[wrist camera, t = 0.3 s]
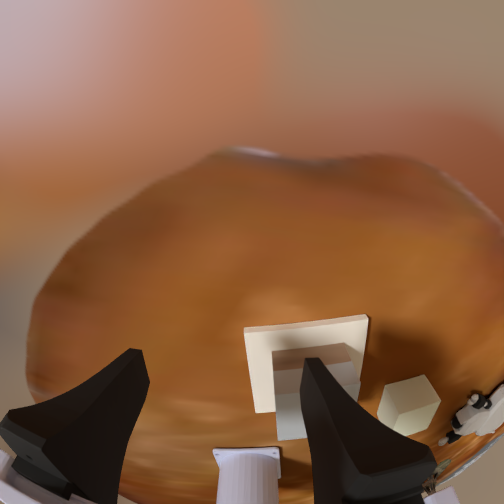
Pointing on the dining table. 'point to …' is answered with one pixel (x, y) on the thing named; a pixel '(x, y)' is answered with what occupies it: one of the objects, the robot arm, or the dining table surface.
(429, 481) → the eiffel tower figurine
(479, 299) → the dining table surface
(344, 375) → the light grey flat block
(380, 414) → the sage block
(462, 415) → the robot toy
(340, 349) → the walnut slab
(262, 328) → the cream board
